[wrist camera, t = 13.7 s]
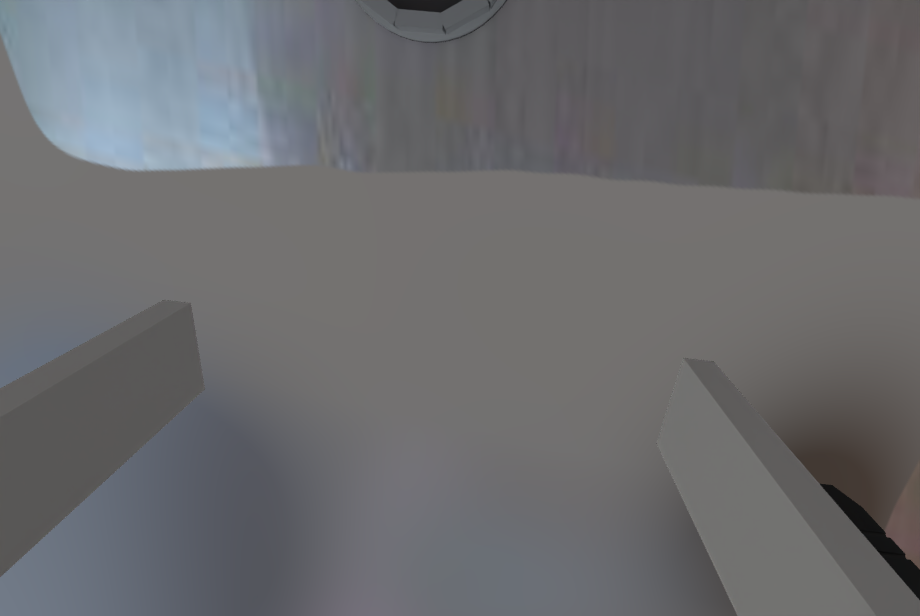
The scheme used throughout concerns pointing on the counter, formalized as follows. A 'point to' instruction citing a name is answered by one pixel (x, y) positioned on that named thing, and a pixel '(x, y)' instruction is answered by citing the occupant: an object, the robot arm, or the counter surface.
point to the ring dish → (431, 17)
